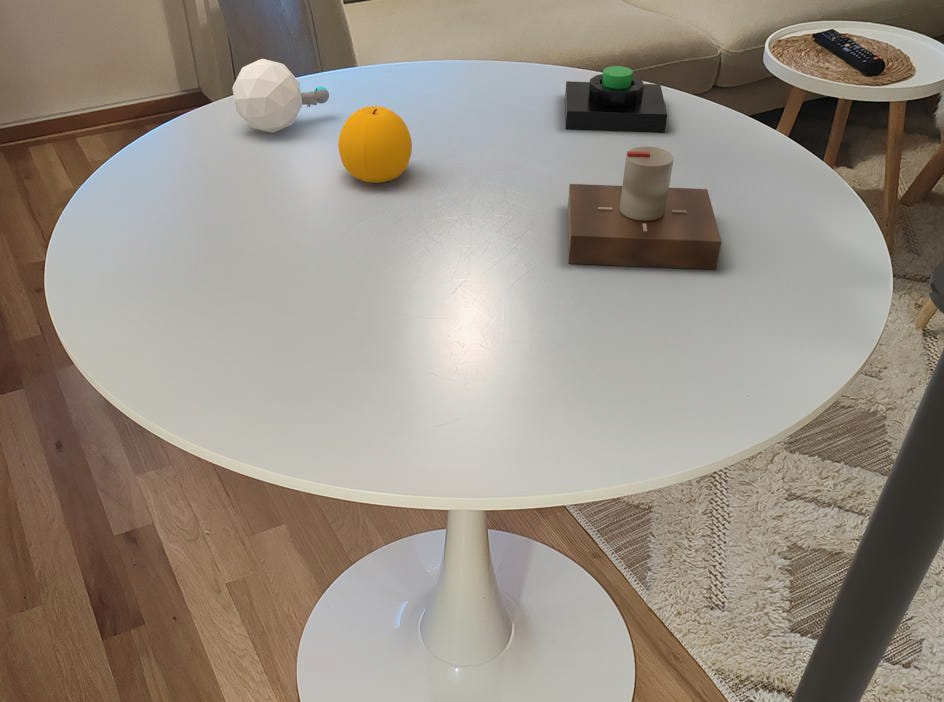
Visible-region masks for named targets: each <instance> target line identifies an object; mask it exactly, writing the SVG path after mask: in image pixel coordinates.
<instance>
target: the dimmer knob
mask: <svg viewBox="0 0 944 702" xmlns="http://www.w3.org/2000/svg"><path fill="white" fill-rule="evenodd" d="M674 159H675V158H674V155H673V154H672V153H671V151H668V150H666V149H664V148H661V147H656V146H637V147H634V148H631V149H629V150H628V151H626V155H625V163H624V170H623V178H622V185H621V186H622V193H621V201H620V212H621V213H622V214H623V215H624V216H626V217H628V218H631V219H634V220H640V221H651V220H656V219H659V218H661V217H662V216H663V215H664V214H665V209H666V203H667V197H668V191H669V188H670V184H671V178H672V170H673V165H674Z"/></svg>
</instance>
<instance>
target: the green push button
mask: <svg viewBox="0 0 944 702" xmlns="http://www.w3.org/2000/svg"><path fill="white" fill-rule="evenodd" d="M602 74H603V78H602V85H603V86H605V87H609V88H613V89H624V88H630V87H631V84H632V76H634V71H633V70H632V68H630V67H627V66H622V65H611V66H606V67H604V68H603V70H602Z"/></svg>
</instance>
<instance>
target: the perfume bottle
mask: <svg viewBox="0 0 944 702" xmlns="http://www.w3.org/2000/svg"><path fill="white" fill-rule="evenodd" d="M233 83H234V84H233V86H232V94H233V100H234V105H235V106H234V107H235V111H236V113H238V115H239V116H240V117H241V118H242V119H243V120H244V121H245V122H246V124H248V125H249V127H250V128H251V129H254V130H258V131H262V132H267V133H270V134H275V133H277V132H279V131H281V130H284V129H286V128H288V127H290V126H292V125H294V122H295V121H296V118H297V117H298V114H299V113H300V111H301V109H302V107H303V105H304V106H305V105H306V109H308V108H311V106H317V105H318V104H320V105H321V104H322V105H323V104H325V103H327V102H328V100H329V98H330V92H329V91H328V89H327V87H325V86H321V85H320V86H317V87H315V89H314V90H313V91H307V92H302V91H301V84H300V81H299V80H298V79H297V78H296V77H295V74H293V73H292V71H290V69H289V68H288V67H287V66H286V65H285V64H284V63H281V62H277V61H275V60H269V59H265V58H260V59H257V60H256V61H253V62H252V63H248V64H246V65H244V66H242V67H241V69H240V71H239V73H238V75H237V77H236V79H235V81H234V82H233Z"/></svg>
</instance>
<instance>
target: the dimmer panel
mask: <svg viewBox="0 0 944 702" xmlns="http://www.w3.org/2000/svg"><path fill="white" fill-rule="evenodd" d="M621 193H622V185H613V184H612V185H611V184H610V185H609V184H607V185H606V184H588V183H587V184H583V183H569V186H568V197H567V210H566V213H567V214H566V215H567V217H566V219H567V256H568V257H567V262H568V264H570V265H571V264H572V265H573V264H574V265H596V266H597V265H600V266H618V267H619V266H621V267H641V268H642V267H644V268H645V267H646V268H667V269H668V268H670V269H689V270H690V269H693V270H712V271H713V270H716V269H717V265H718V261H719V256H720V251H721V246H722V237H721V235H720V231H719V227H718V223H717V219H716V215H715V212H714V208H713V204H712V202H711V198H710V194H709V191H708V189H707V188H691V187H690V188H689V187H669V191H668V197H667V203H666V209H665V214H664V215H663V216H662V217H661V218H659V219H656V220H651V221H640V220H634V219H631V218H628V217H626V216H624V215H623V214H622V213H621V212H620V201H621Z"/></svg>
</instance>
